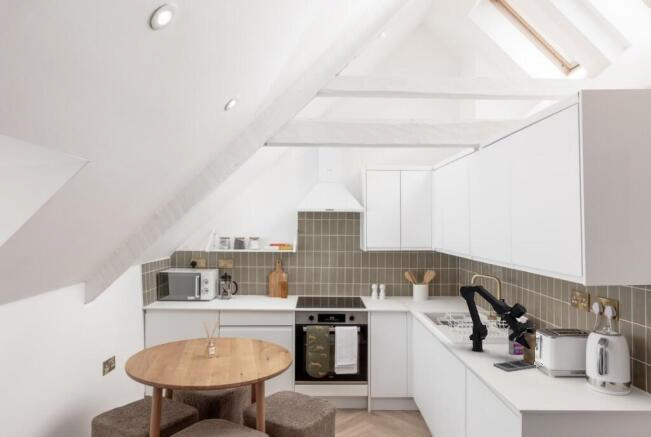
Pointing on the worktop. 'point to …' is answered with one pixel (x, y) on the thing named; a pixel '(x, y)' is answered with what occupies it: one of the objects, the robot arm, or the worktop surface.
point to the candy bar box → (514, 345)
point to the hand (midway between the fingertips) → (532, 348)
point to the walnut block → (529, 353)
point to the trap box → (514, 365)
